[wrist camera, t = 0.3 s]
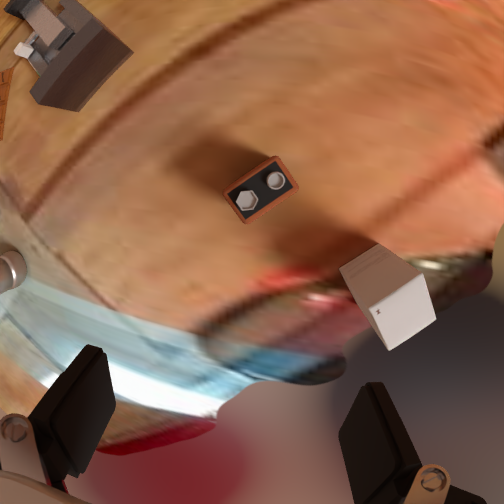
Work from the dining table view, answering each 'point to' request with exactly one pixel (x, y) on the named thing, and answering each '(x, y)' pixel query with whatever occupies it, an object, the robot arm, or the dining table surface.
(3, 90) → the chocolate bar
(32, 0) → the plunger
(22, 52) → the small white cube
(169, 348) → the dining table surface
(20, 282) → the plastic bottle
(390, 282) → the supplement box
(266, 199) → the battery
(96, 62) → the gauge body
